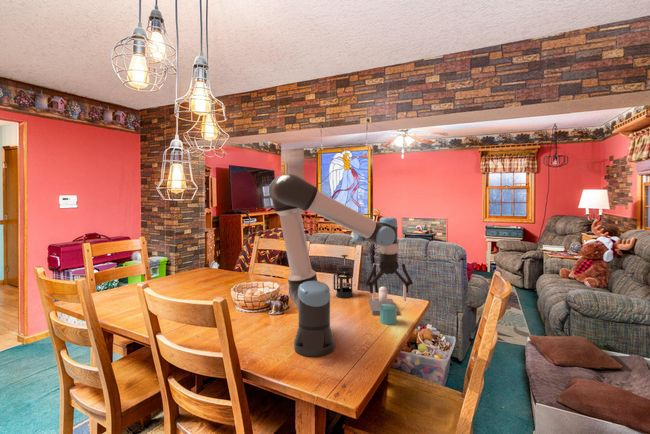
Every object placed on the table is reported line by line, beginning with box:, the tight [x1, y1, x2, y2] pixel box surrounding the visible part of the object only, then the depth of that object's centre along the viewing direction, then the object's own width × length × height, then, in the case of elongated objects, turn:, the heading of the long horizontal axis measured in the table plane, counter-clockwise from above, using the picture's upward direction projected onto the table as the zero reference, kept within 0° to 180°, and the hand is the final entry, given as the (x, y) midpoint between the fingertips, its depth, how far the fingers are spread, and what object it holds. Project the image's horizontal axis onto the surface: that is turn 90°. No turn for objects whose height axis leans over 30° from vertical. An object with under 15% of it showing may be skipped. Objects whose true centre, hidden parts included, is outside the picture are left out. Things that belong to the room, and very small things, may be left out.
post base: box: [368, 286, 399, 316], centre depth 162 cm, size 18×12×11 cm, turn 178°
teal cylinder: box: [379, 304, 398, 326], centre depth 145 cm, size 7×7×7 cm
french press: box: [333, 254, 354, 299], centre depth 182 cm, size 12×9×23 cm
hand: (389, 300), depth 144 cm, fingers open, 13 cm apart
